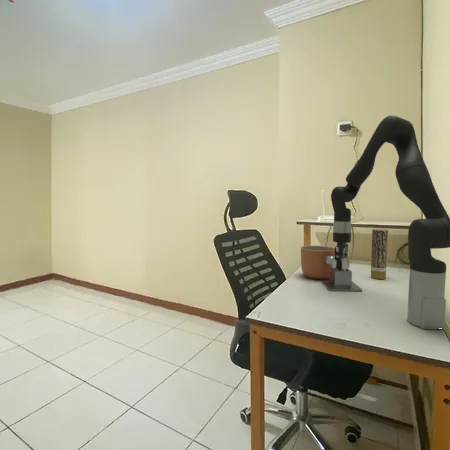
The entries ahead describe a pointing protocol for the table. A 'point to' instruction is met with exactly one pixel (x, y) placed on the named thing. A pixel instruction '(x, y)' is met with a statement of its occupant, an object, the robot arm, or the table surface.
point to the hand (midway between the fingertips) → (340, 268)
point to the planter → (316, 261)
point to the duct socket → (341, 281)
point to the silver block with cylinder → (331, 261)
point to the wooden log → (379, 253)
